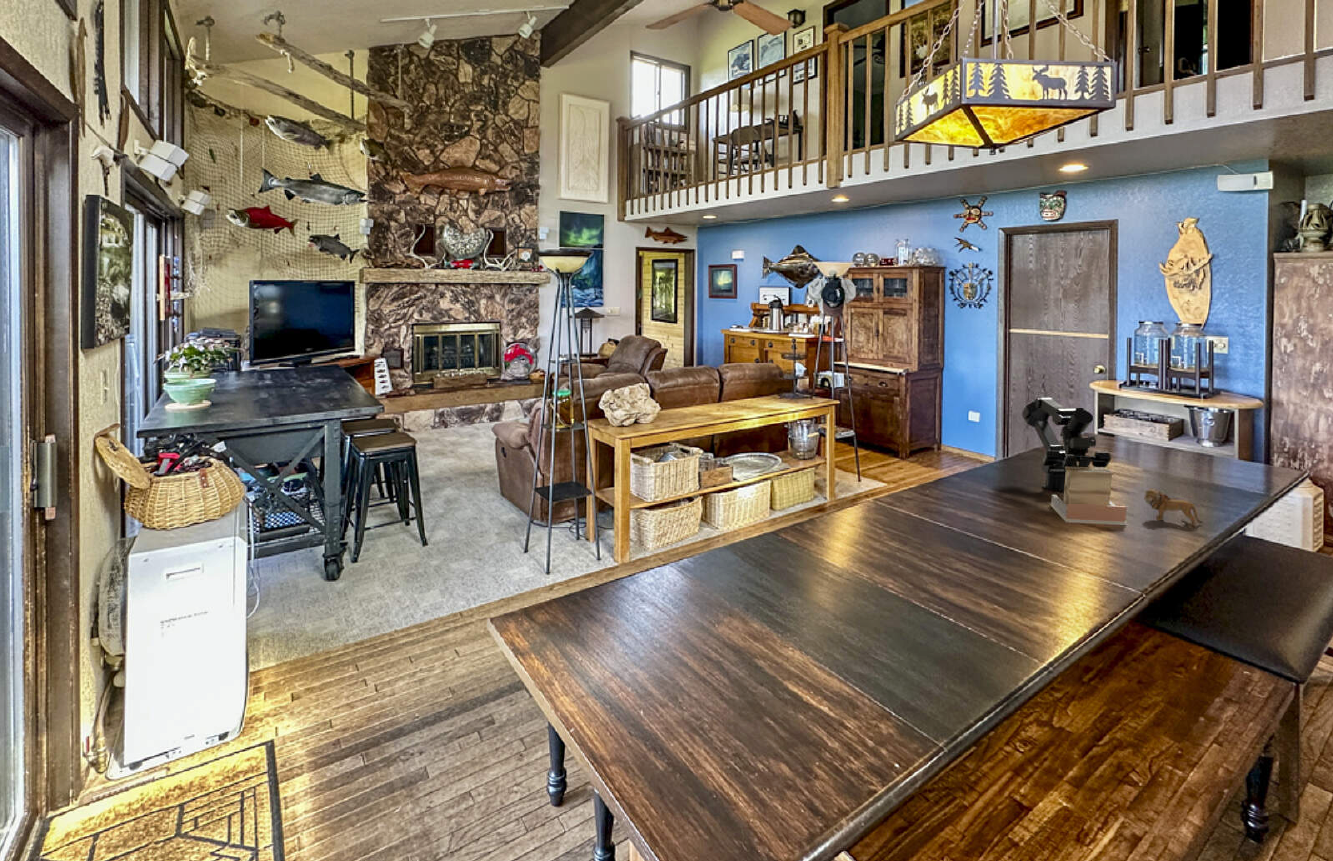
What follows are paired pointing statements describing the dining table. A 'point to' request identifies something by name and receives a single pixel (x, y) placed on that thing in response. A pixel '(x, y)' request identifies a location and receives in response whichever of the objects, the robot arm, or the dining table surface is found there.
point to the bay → (1090, 512)
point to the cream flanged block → (1087, 486)
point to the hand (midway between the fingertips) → (1080, 481)
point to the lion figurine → (1170, 505)
